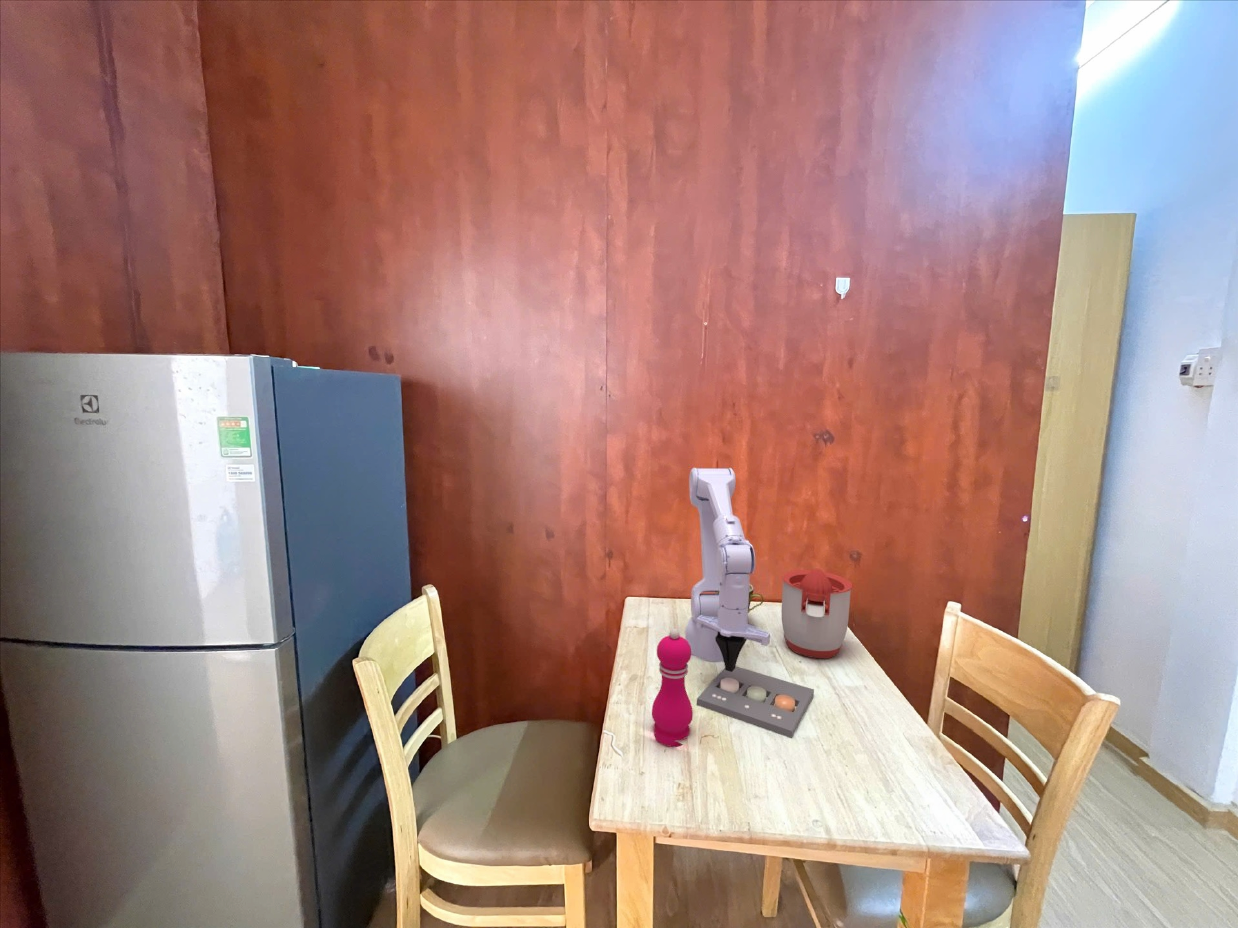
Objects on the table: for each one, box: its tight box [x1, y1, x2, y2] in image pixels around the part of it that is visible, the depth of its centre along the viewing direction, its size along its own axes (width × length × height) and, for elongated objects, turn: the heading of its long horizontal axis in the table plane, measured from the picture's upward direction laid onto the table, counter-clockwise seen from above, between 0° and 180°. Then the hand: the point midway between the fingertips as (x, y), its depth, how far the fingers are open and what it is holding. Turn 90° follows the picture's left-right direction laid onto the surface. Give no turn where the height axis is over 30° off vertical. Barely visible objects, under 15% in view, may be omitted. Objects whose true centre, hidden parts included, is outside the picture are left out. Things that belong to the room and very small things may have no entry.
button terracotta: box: [774, 695, 796, 712], centre depth 103 cm, size 4×4×3 cm
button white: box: [720, 678, 740, 694], centre depth 109 cm, size 4×4×3 cm
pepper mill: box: [651, 628, 694, 748], centre depth 95 cm, size 7×7×20 cm
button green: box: [746, 686, 767, 703], centre depth 106 cm, size 4×4×3 cm
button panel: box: [696, 665, 815, 739], centre depth 106 cm, size 18×16×3 cm
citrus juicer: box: [781, 567, 853, 659], centre depth 128 cm, size 16×17×20 cm
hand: (730, 668), depth 108 cm, fingers closed
